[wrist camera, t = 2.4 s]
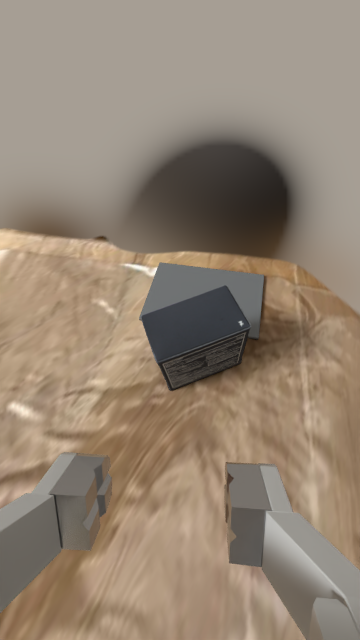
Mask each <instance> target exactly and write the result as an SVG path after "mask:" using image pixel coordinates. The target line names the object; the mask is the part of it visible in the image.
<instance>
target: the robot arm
mask: <svg viewBox="0 0 360 640" xmlns="http://www.w3.org/2000/svg"><path fill="white" fill-rule="evenodd" d="M110 467H111V464H110V457H109V456H108V455H97V454H85V453H69V452H64V453H62V454H60V455H59V457H58V458H57V459H56V461H55V462H54V463H53V465H52V466H51V467H50V469H49V470H48V471H47V473H46V474H45V475H44V477H43V478H42V479H41V481H40V482H39V483H38V485H37V486H36V487H35V489H34V490H33V491H32V493H31V494H30V493H26V494H24V495H22V496H21V497H19V498H18V499H16V500H14V501H13V502H11V503H9V504H8V505H6V506H5V507H3V508H1V509H0V613H1V612H2V611H3V610H4V609H5V608H6V607H7V606H8V605H9V604H10V603H11V602H12V601H13V599H14V598H15V597H16V596H17V595H18V594H19V593H20V592H21V591H22V590H23V589H24V588H25V587H26V586H27V585H28V584H29V583H30V582H31V581H32V580H33V579H34V578H35V577H36V576H37V575H38V574H39V573H40V572H41V571H42V570H43V569H44V568H45V567H46V566H47V565H48V564H49V563H50V562H51V561H52V560H53V559H54V558H55V557H56V556H57V555H58V554H59V553H60V552H61V549H73V550H91V549H92V547H93V544H94V542H95V539H96V536H97V534H98V531H99V529H100V517H101V516H102V515H103V514H105V513H106V511H107V508H108V505H109V502H110V498H111V493H112V478H111V476H110V475H109V474H108V471H109V469H110ZM225 479H226V484H225V492H224V500H225V520H226V523H227V543H228V554H229V563H232V564H240V565H248V566H256V567H262V570H263V572H264V574H265V575H266V577H267V578H268V580H269V581H270V583H271V585H272V586H273V588H274V589H275V591H276V593H277V594H278V596H279V597H280V599H281V600H282V602H283V604H284V605H285V607H286V608H287V610H288V612H289V613H290V615H291V616H292V618H293V619H294V621H295V623H296V624H297V626H298V627H299V629H300V631H301V632H302V634H303V635H304V637H305V638H306V640H360V570H359V569H357V568H356V567H355V566H354V565H353V564H352V563H351V562H350V561H349V560H348V559H347V558H346V557H345V556H344V555H343V554H342V553H341V552H340V551H338V550H337V549H336V548H335V547H334V546H333V545H332V544H331V543H330V542H329V541H328V540H327V539H326V538H325V537H324V536H323V535H322V534H321V533H319V532H318V531H317V530H316V529H315V528H314V527H313V526H312V525H311V524H310V523H309V522H308V521H307V520H306V519H305V518H304V517H303V516H302V515H301V514H299V513H293V510H292V507H291V504H290V502H289V499H288V496H287V493H286V490H285V488H284V485H283V482H282V479H281V477H280V474H279V471H278V468H277V466H276V465H275V464H251V463H231V462H226V464H225Z"/></svg>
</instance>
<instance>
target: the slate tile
mask: <svg viewBox="0 0 360 640" xmlns="http://www.w3.org/2000/svg"><path fill="white" fill-rule="evenodd" d="M263 282H264V275H259V274H251V273H243V272H234V271H226V270H218V269H210V268H201V267H193V266H185V265H177V264H168V263H159V266H158V268H157V271H156V274H155V277H154V279H153V282H152V285H151V287H150V290H149V293H148V296H147V298H146V301H145V304H144V306H143V309H142V312H141V315H140V317H139V320H142V319H141V316H142V315H144V314H147V313H150V312H153V311H155V310H158V309H161V308H164V307H167V306H169V305H172V304H175V303H178V302H181V301H183V300H186V299H189V298H192V297H194V296H197V295H200V294H203V293H205V292H208V291H211V290H213V289H216V288H219V287H222V286H224V285H227V286H228V288H229V290H230V291H231V293H232V294H233V296H234V298H235V299H236V301H237V303H238V305H239V306H240V308H241V309H242V311H243V313H244V314H245V316H246V318H247V319H248V321H249V323H250V324H251V329H250V331H249V334H248V338H251V339H257V340H258V338H259V328H260V317H261V305H262V293H263Z"/></svg>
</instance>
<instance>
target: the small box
mask: <svg viewBox="0 0 360 640" xmlns="http://www.w3.org/2000/svg"><path fill="white" fill-rule="evenodd" d="M141 319H142V322H143V326H144V328H145V331H146V335H147V337H148V340H149V343H150V346H151V349H152V352H153V354H154V357H155V360H156V362H157V364H158V365H159V367H160V369H161V371H162V373H163V376H164V378H165V380H166V382H167V385H168V388H169V390H170V391H172V390H174V389H177V388H179V387H182V386H185V385H187V384H190V383H192V382H195V381H197V380H200V379H203V378H205V377H208V376H210V375H213V374H216V373H218V372H221V371H223V370H226V369H228V368H231V367H233V366H236V365H238V364H241V361H242V355H243V352H244V348H245V345H246V341H247V338H248V334H249V331H250V329H251V324H250V323H249V321H248V319H247V318H246V316H245V314H244V313H243V311H242V309H241V308H240V306H239V305H238V303H237V301H236V299H235V298H234V296H233V294H232V293H231V291H230V290H229V288H228V286H227V285H224V286H222V287H219V288H216V289H213V290H211V291H208V292H205V293H203V294H200V295H197V296H194V297H192V298H189V299H186V300H183V301H181V302H178V303H175V304H172V305H169V306H167V307H164V308H161V309H158V310H155V311H153V312H150V313H147V314H144V315H142V316H141Z"/></svg>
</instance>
